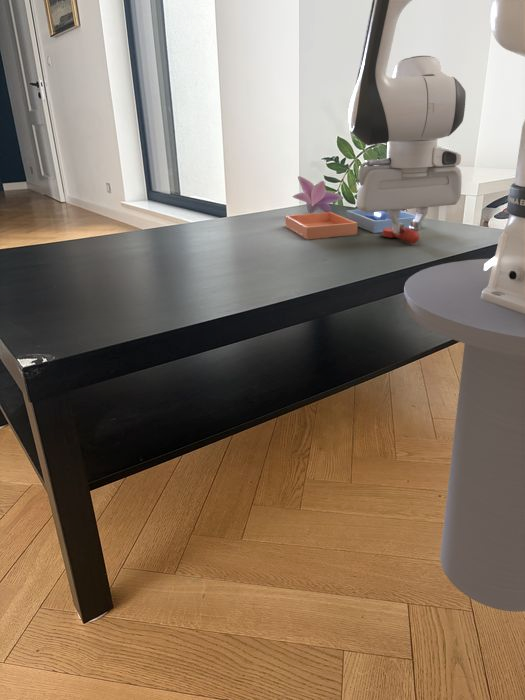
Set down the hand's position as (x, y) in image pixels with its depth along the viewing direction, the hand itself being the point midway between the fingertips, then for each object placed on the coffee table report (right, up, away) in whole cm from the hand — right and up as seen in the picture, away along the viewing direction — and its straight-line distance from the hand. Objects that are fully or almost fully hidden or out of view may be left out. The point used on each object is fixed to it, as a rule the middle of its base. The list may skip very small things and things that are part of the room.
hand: (406, 231), depth 107 cm
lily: (-15, +10, +30) cm, 35 cm away
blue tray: (-1, +6, +18) cm, 19 cm away
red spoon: (0, -1, +2) cm, 3 cm away
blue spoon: (-1, +6, +18) cm, 19 cm away
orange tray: (-15, +3, +15) cm, 22 cm away
